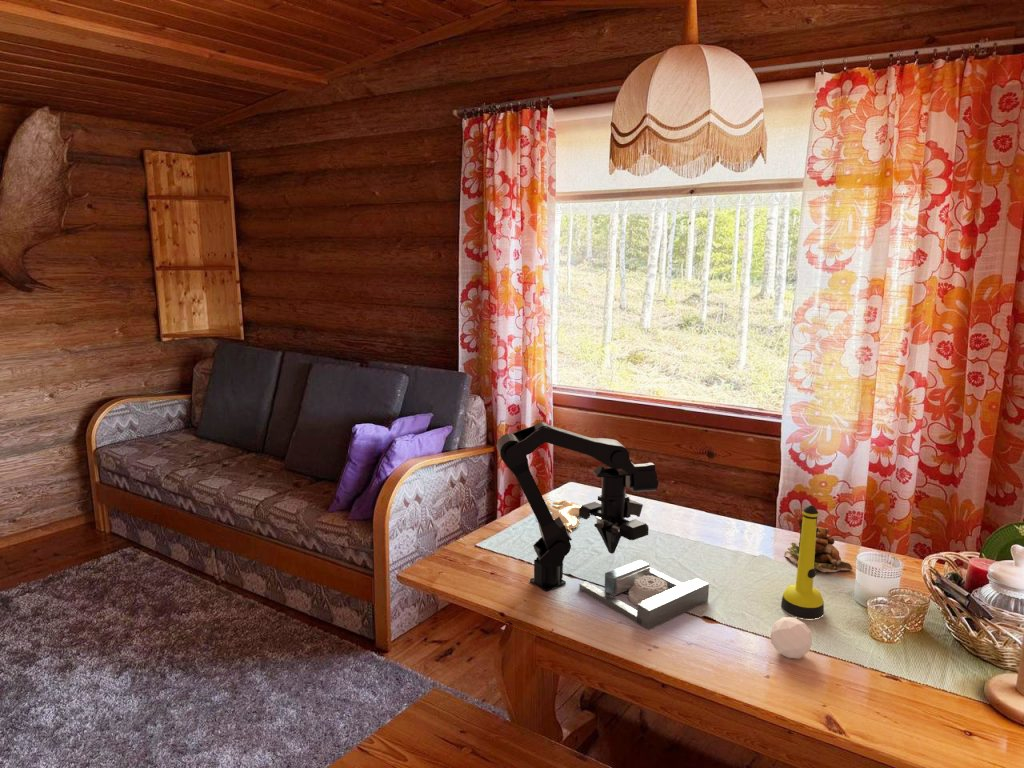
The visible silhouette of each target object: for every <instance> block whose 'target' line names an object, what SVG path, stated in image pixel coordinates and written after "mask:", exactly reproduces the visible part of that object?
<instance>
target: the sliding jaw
mask: <svg viewBox="0 0 1024 768" xmlns="http://www.w3.org/2000/svg"><path fill="white" fill-rule="evenodd" d="M650 568H651V567H650V563H648V562H647V561H643V560H642V559H639V560H636V561H633V562H630V563H629V564H625V565H623V566H619V567H617V568H615V569H613V570H610V571H608V572H605V573H604V592H605V593H607V594H609V595H611V596H613V597H615V596H618V595H621V594H622V593H625V592H627V591H629V590H630V588H631V587H633V586H634V582H635V580H636V579H637V578H638V577H643V576H644V575H645V576H647V575H649V574H650Z"/></svg>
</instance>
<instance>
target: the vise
mask: <svg viewBox="0 0 1024 768" xmlns="http://www.w3.org/2000/svg"><path fill="white" fill-rule="evenodd" d="M652 575H653V576H654V577H657V578H658V577H660V578H661V579H662V580H664V581H666V582H667V588H668V590H667V591H665V592H662V593H660V594H658V595H655V596H653V597H651V598H649V599H646V600H644V601H642V602H641V603H639V604H638V606H637V609H635V608H634V607H632V606H630V605H628V604H627V603H625V602H624V601H621V600H619V599H618V598H617V597H615V596H612V595H610V594H609V593H607V592H605V590H602V589H600V588H599V587H597V586H595V585H593V584H591V583H589V582H588V581H582V582H580V583H579V591H582V592H583V594H584V593H585V594H586V595H587V596H589V597H591V598H593V599H595V600H596V601H599V602H600V603H601V604H604V605H605V606H607V607H609V608H611V609H612V610H614V611H615V612H617V613H619V614H620V615H622V616H624V617H626V618H627V619H629V620H630V621H633V622H634V623H636V624H637V625H639V626H641V627H643V628H645V629H646V630H648V631H650V630H651V629H654V628H656V627H658V626H659V625H662V624H664V623H666V622H668V621H670V620H673V619H674V618H676V617H679V616H681V615H683V614H685V613H688V612H689V611H692V610H694V609H695V608H697V607H700V606H701V605H704V604H705V603H708V602H709V593H710V591H709V589H710V583H709V582H706V581H704V580H702V579H700V578H698V577H695V578H694V579H691V580H688V581H685V582H681V581H679V580H678V579H675V578H673V577H671V576H669V575H666V574H665V573H663V572H661V571H658V570H656V569H655V568H652V567H650V574H649V576H652Z"/></svg>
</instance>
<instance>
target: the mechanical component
mask: <svg viewBox="0 0 1024 768" xmlns="http://www.w3.org/2000/svg"><path fill="white" fill-rule="evenodd" d="M667 590H669V588H668V587H667V582H666V581H664V580H662V579H661V578H660V577H658V578H657V577H654V576H653V575H652V576H649V575H647V576H645V575H644V576H643V577H638V578H637V579H636V580H635V582H634V586H633V587H631V588H630V590H628V600H629V601H630V602H631V603H632V604H633V605H635V606H637V607H638V604H639V603H641V602H642V601H644V600H646V599H649V598H651V597H653V596H655V595H658V594H660V593H662V592H665V591H667Z"/></svg>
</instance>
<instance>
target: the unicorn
mask: <svg viewBox="0 0 1024 768" xmlns="http://www.w3.org/2000/svg"><path fill="white" fill-rule="evenodd" d="M545 503H546V505H547V507H548V509H549V511H550V513H551V515H552V516H553V518H554V519H556V518H558V517H560V518H561V520H562V522H563V523H564V525H565V527H566V530H567V531H570V532H573V530H572V529H575V528H576V527H577V526H579V525H580V524H581V523H580V520H579V518H578V517H579V509H580V507H581V506H582V505H580V504H578V503H577V502H576V503H575V502H571V501H567V500H564V499H563V500H559V501H554V502H551V500H548V501H546V502H545ZM551 504H552V506H551Z"/></svg>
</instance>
